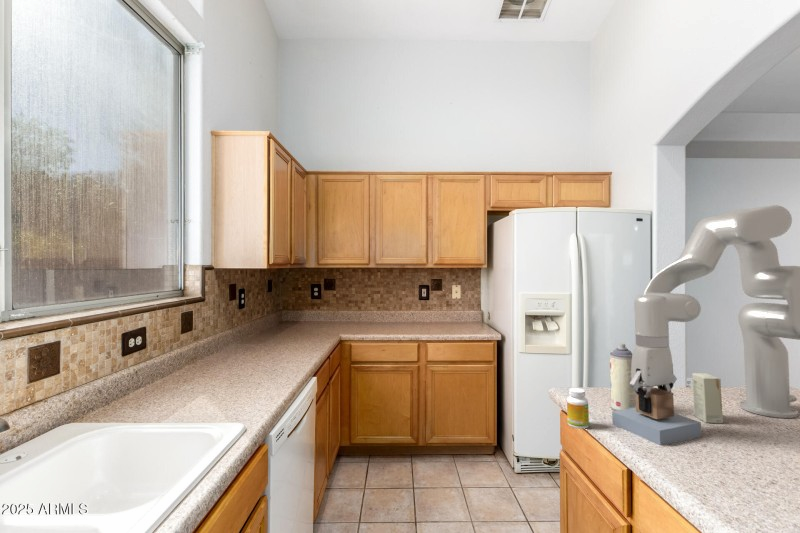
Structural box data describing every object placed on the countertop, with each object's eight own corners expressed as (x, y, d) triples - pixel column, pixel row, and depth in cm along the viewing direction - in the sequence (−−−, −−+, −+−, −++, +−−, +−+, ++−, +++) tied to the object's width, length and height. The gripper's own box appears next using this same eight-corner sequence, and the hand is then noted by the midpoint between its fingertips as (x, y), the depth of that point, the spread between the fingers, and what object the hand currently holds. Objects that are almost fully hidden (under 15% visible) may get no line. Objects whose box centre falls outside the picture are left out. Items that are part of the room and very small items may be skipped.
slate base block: (650, 418, 112) (650, 404, 113) (701, 438, 99) (700, 422, 99) (612, 425, 108) (612, 411, 108) (660, 447, 95) (659, 430, 95)
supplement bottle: (588, 430, 104) (587, 394, 105) (566, 427, 107) (565, 391, 107) (589, 423, 109) (588, 388, 109) (568, 420, 112) (567, 386, 112)
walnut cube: (652, 408, 108) (651, 386, 108) (674, 416, 102) (673, 392, 102) (636, 411, 106) (635, 389, 106) (656, 419, 100) (656, 395, 100)
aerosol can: (618, 404, 123) (616, 341, 124) (641, 410, 118) (639, 344, 118) (606, 409, 120) (604, 343, 120) (630, 415, 114) (627, 347, 114)
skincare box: (723, 424, 106) (722, 378, 106) (705, 423, 107) (704, 378, 107) (710, 415, 113) (708, 372, 113) (693, 414, 114) (691, 372, 114)
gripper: (662, 337, 110) (664, 401, 110) (615, 342, 105) (617, 409, 105) (689, 341, 103) (692, 410, 103) (640, 347, 98) (642, 419, 97)
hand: (654, 409), depth 104 cm, fingers closed on walnut cube, 5 cm apart
